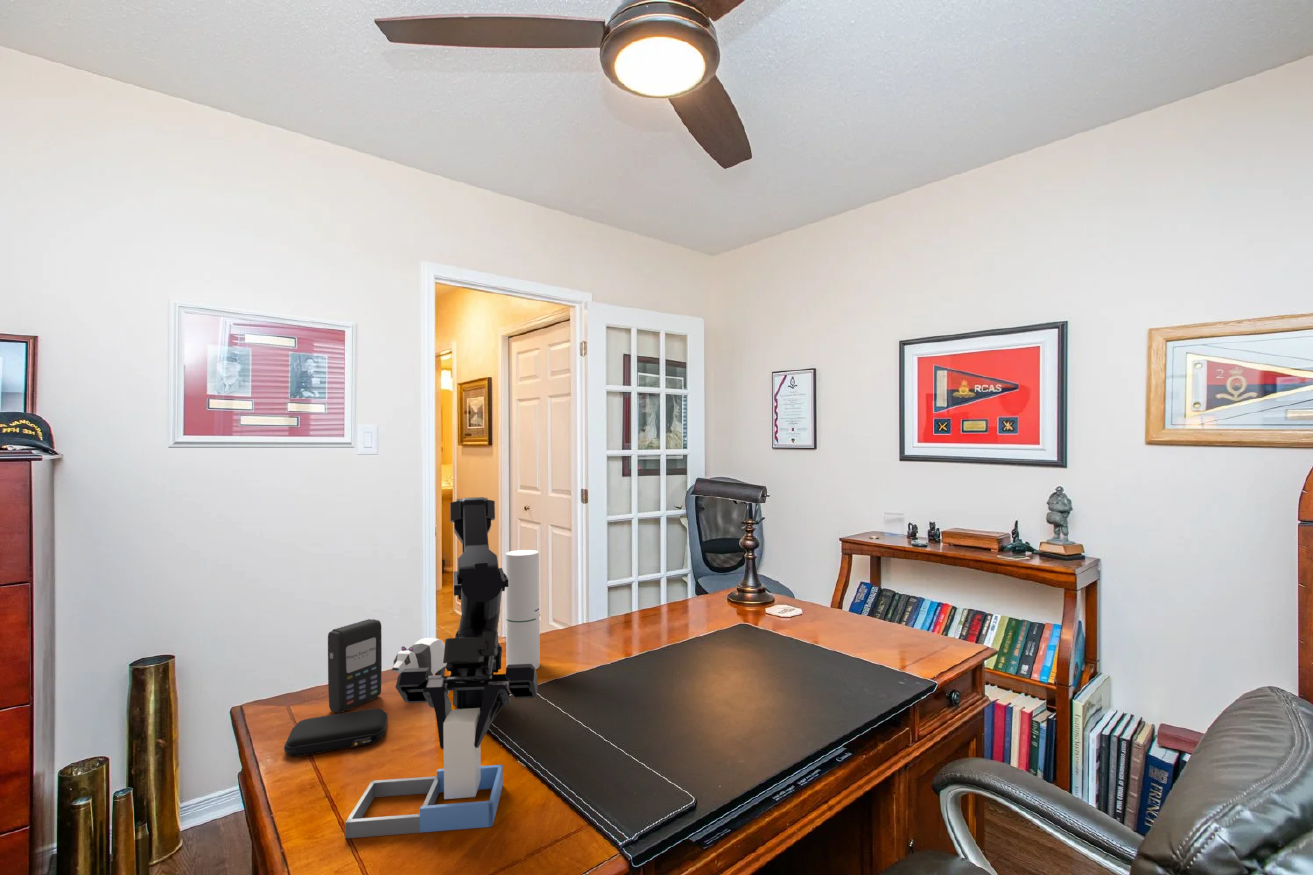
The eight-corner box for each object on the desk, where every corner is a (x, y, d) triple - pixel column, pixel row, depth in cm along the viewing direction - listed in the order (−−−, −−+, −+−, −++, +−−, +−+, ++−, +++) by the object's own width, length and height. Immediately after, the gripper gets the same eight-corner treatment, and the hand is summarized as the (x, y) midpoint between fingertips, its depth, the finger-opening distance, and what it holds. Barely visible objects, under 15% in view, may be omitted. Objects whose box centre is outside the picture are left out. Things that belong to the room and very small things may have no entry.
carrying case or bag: (279, 767, 92) (384, 748, 97) (279, 747, 92) (384, 729, 97) (293, 735, 102) (388, 720, 107) (293, 717, 102) (388, 703, 107)
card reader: (338, 716, 108) (338, 633, 108) (325, 711, 110) (325, 630, 110) (383, 697, 116) (383, 620, 116) (370, 693, 118) (370, 617, 118)
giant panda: (426, 672, 128) (426, 628, 128) (450, 674, 126) (449, 629, 127) (382, 702, 113) (381, 652, 113) (408, 704, 112) (407, 654, 112)
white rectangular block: (451, 781, 82) (450, 709, 82) (480, 779, 83) (480, 707, 83) (444, 799, 78) (443, 723, 78) (475, 796, 79) (474, 721, 79)
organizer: (345, 838, 74) (345, 814, 74) (371, 794, 83) (371, 773, 83) (492, 826, 76) (492, 803, 76) (502, 785, 86) (502, 764, 86)
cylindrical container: (545, 662, 133) (544, 550, 133) (529, 674, 126) (528, 556, 126) (517, 659, 135) (516, 549, 135) (500, 670, 128) (499, 554, 129)
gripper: (399, 611, 83) (368, 728, 72) (534, 607, 85) (524, 721, 74) (418, 648, 91) (392, 758, 80) (541, 643, 93) (532, 751, 82)
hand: (459, 747), depth 79 cm, fingers closed on white rectangular block, 4 cm apart
